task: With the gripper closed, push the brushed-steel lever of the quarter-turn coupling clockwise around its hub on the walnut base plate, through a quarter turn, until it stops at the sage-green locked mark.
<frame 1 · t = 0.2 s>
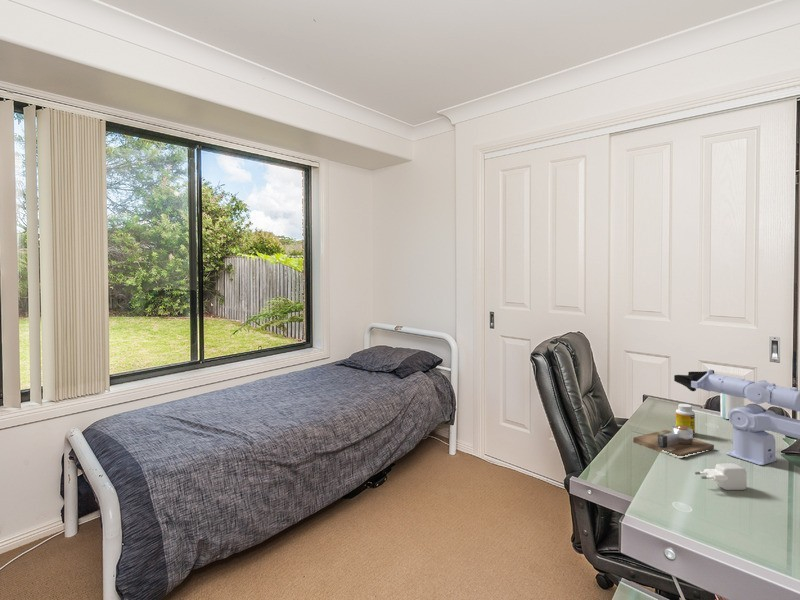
hand: (681, 376, 145), 21 cm above the table, tool horizontal, fingers open, 7 cm apart
can: (732, 419, 162), on the table
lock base: (672, 445, 139), on the table
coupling: (674, 436, 136), point 4 cm above the table, hinge at 0.0°
power adapter: (720, 488, 110), on the table
supplement bottle: (685, 434, 149), on the table
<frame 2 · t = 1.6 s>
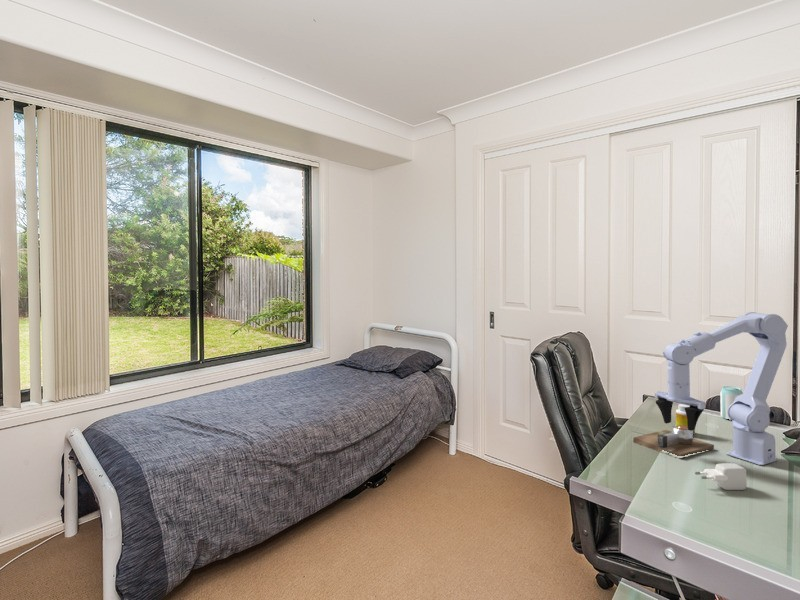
hand: (679, 426, 130), 9 cm above the table, tool pointing down, fingers open, 7 cm apart
nothing on the table moved.
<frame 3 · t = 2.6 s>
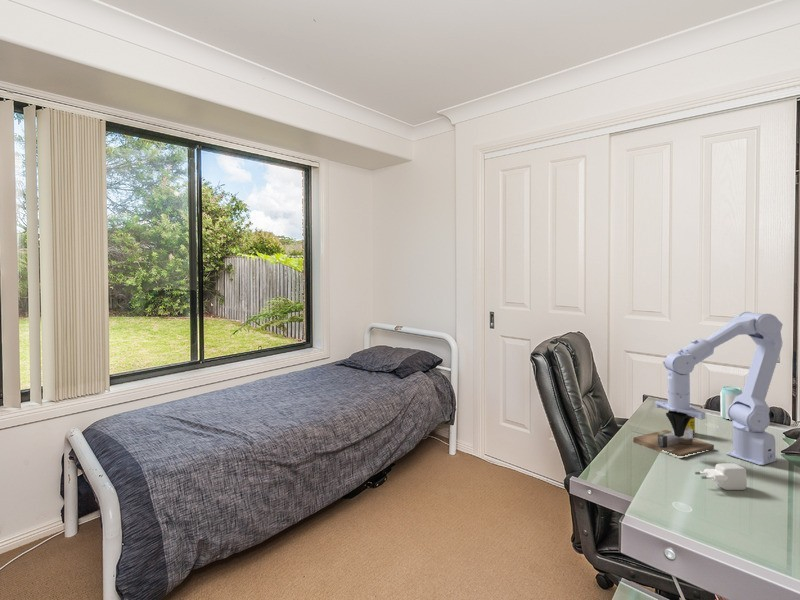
hand: (679, 435, 130), 6 cm above the table, tool pointing down, fingers closed
nothing on the table moved.
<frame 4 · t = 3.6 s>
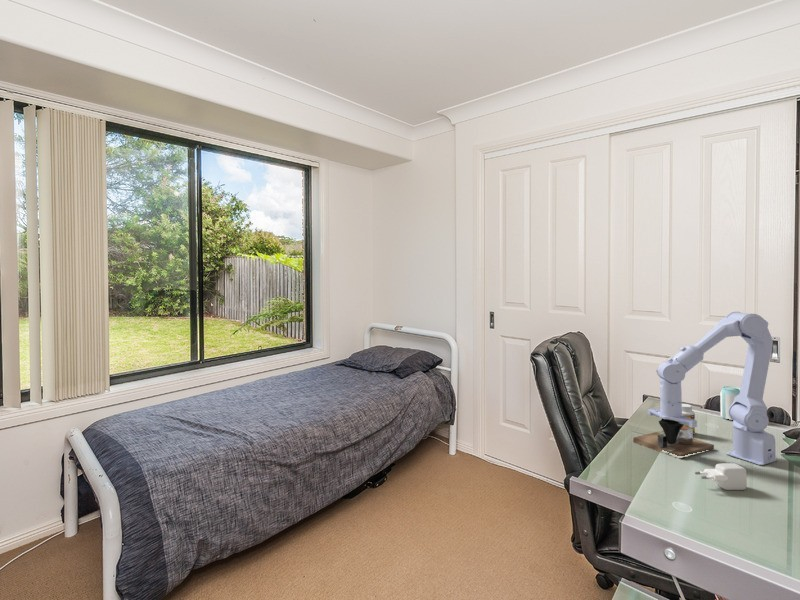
hand: (671, 443, 133), 3 cm above the table, tool pointing down, fingers closed
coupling: (674, 436, 136), point 4 cm above the table, hinge at 0.1°, touching gripper
everything else where it was.
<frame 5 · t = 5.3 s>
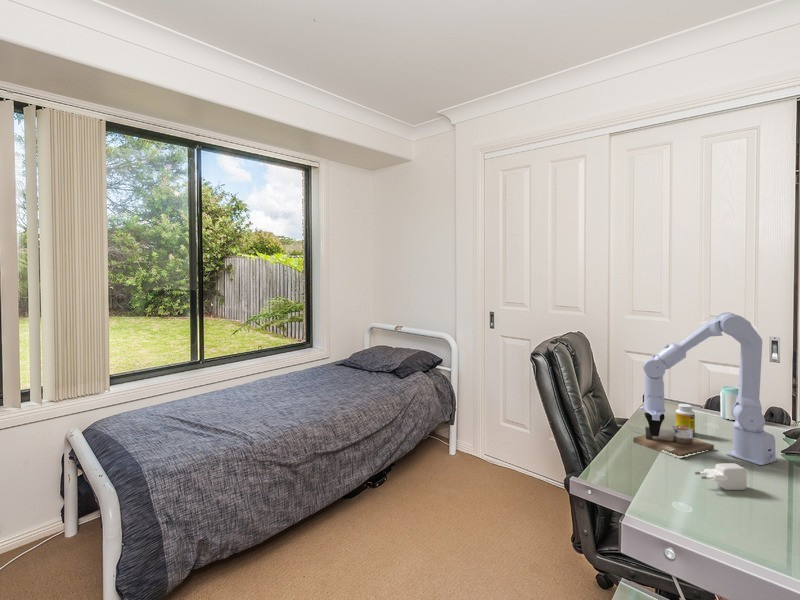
hand: (654, 435, 139), 3 cm above the table, tool pointing down, fingers closed
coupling: (668, 432, 139), point 4 cm above the table, hinge at 47.5°, touching gripper
everything else where it was.
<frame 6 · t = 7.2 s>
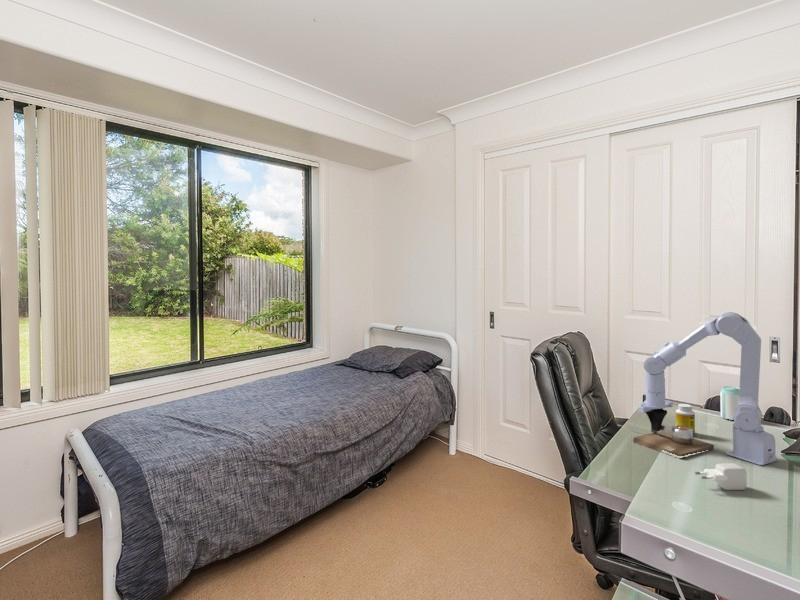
hand: (656, 430, 144), 3 cm above the table, tool pointing down, fingers closed
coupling: (671, 430, 141), point 4 cm above the table, hinge at 91.5°, touching gripper
everything else where it was.
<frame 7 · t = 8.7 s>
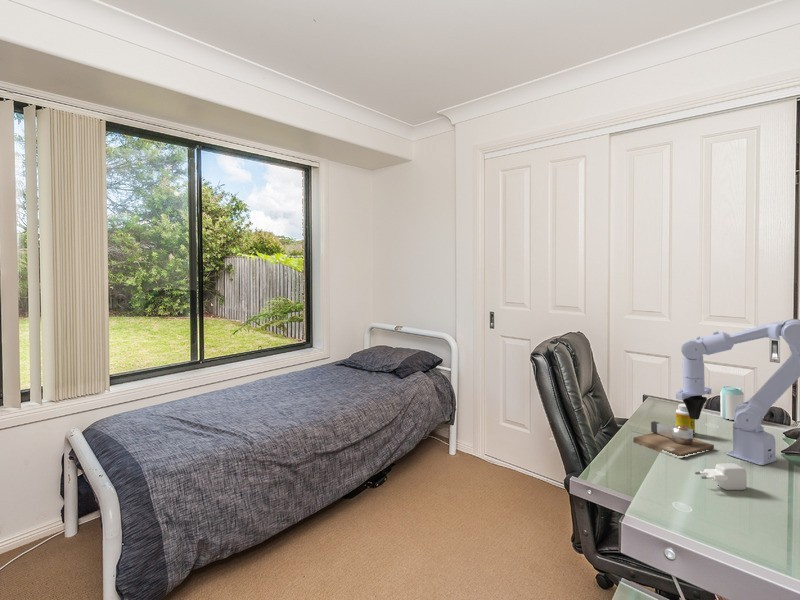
hand: (694, 418, 136), 9 cm above the table, tool pointing down, fingers closed
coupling: (671, 430, 141), point 4 cm above the table, hinge at 91.5°
everything else where it was.
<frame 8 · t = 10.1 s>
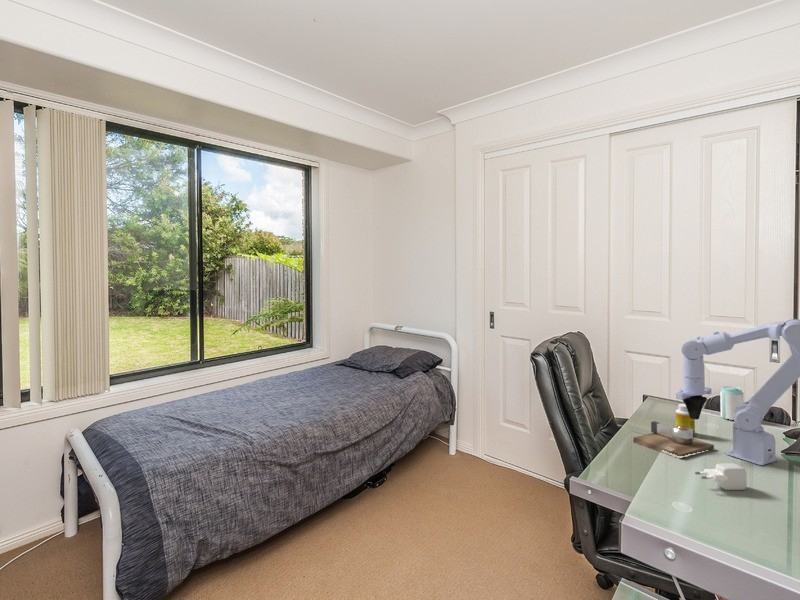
hand: (694, 418, 136), 9 cm above the table, tool pointing down, fingers closed
nothing on the table moved.
at the end: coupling at +92° (first picture: +0°) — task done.
